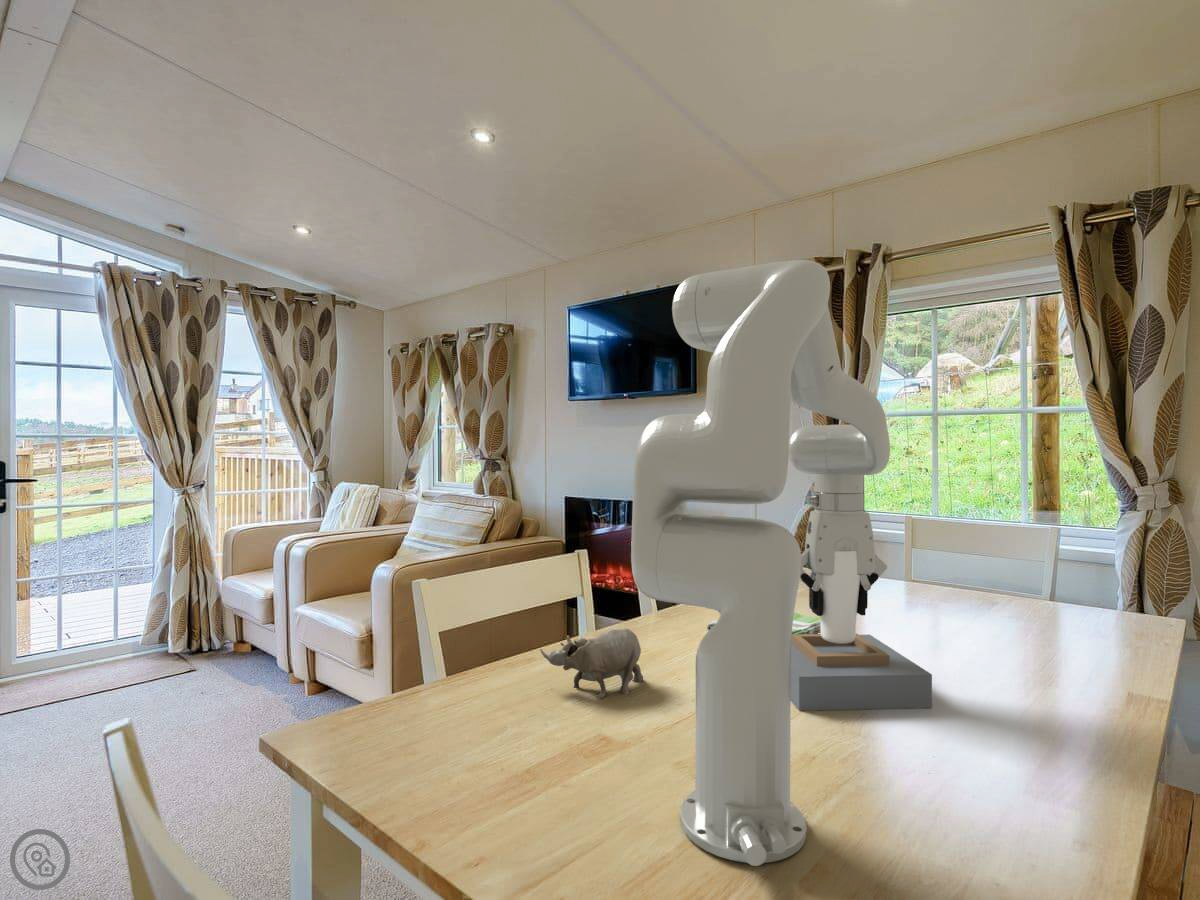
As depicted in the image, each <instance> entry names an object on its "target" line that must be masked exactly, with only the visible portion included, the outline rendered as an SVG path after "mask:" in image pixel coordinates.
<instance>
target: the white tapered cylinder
mask: <svg viewBox="0 0 1200 900" xmlns="http://www.w3.org/2000/svg"><path fill="white" fill-rule="evenodd" d="M834 556H835V561H834V574H833V575H823V582H822V584H821V587H820V591H822V592H823V615H822V616H819V618H820V624H821V637H822V638H823V639H824V640H826V641H828V642H832V643H839V644H846V643H851V642H853V641H854V640H855V636H856V634H857V633H856V629H857V628H856V627H857V626H856V625H857V615H858V613H857V606H858V596H859V585H860V575H858V574H857V558H856V557H857V552H856V551H836V552H834Z"/></svg>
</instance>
